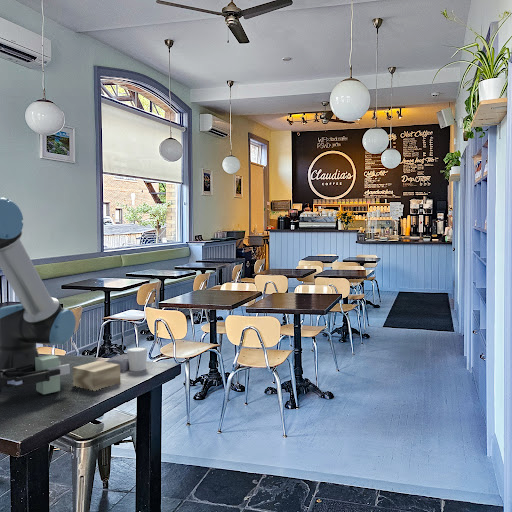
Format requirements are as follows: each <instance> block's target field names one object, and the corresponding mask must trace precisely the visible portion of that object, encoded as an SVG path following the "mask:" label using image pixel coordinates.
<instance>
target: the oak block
mask: <svg viewBox="0 0 512 512" xmlns="http://www.w3.org/2000/svg"><path fill="white" fill-rule="evenodd" d="M72 378H73V379H72V381H73V383H72V385H73V387H75V386H76V388H79V387H80V388H79V389H83V388H84V390H88V389H89V390H88V391H92V390H93V392H96V390H97V391H100V390H102V389H101V388H104V387H107V388H109V387H108V386H110V387H112V386H111V385H113V386H115V385H114V384H116V385H119V384H121V383H122V382H121V371H120V365H119V364H113V363H108V362H105V361H102V360H97V361H94V362H93V361H92V362H89V363H86V364H80V365H77V366H73V367H72ZM118 383H119V384H118ZM99 389H100V390H99ZM104 389H105V388H104Z"/></svg>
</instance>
